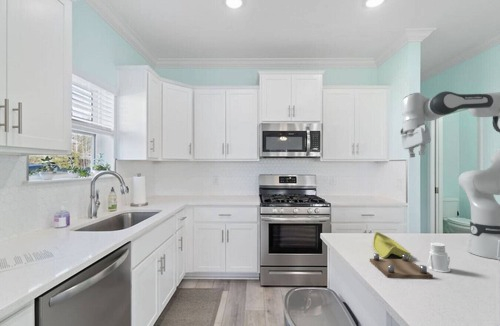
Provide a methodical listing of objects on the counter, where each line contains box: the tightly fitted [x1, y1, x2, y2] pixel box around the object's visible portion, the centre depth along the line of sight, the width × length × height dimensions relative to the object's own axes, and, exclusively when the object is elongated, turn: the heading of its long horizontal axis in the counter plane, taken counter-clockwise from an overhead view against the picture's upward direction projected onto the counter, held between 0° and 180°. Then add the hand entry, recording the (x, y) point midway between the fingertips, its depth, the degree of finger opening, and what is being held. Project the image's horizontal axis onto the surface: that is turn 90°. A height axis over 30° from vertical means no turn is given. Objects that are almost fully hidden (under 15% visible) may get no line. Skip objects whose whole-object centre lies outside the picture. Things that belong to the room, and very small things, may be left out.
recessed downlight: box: [427, 242, 451, 273], centre depth 101 cm, size 8×7×10 cm
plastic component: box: [372, 231, 411, 259], centre depth 121 cm, size 20×7×10 cm
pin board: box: [369, 252, 434, 279], centre depth 101 cm, size 16×16×4 cm
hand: (417, 156), depth 119 cm, fingers open, 8 cm apart
